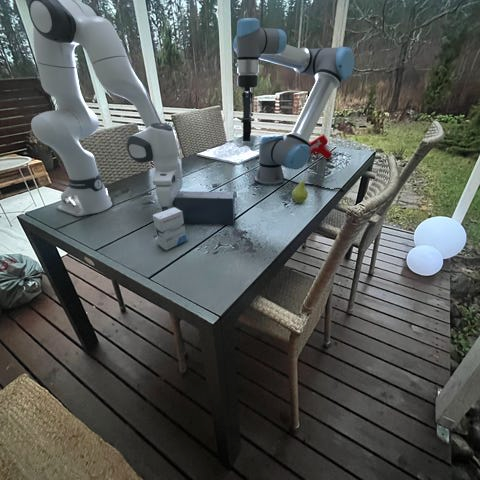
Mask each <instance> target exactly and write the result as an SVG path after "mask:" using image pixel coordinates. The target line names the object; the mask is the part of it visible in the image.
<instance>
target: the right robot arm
mask: <svg viewBox="0 0 480 480" xmlns="http://www.w3.org/2000/svg"><path fill="white" fill-rule="evenodd" d="M260 23H261V21H260V19H259V18H255V17H244V18H240V19H238V20H237V24H236V35H235V36H234V39H233V51H234V52H235V54H236V63H235V65H234V66H235V67H237V68H236V70H237V71H236V73H237V74H238V75H237V76H236V80H237V82H236V84H237V85H236V86H237V87H238V88H243V91H242V93H241V99H242V106H243V107H242V119H241V120H240V122H241V124H242V141H243V142H251V134H252V117H253V116H254V112H252V106H253V99H254V92H252V88H258V87H259V75H258V74H259V70H260V66H259V65H260V61H259V60H261V61H264V62H265V61H266V62H268V63H272V64H277V65H280V66H284V67H286V68H289V69H293V70H294V71H295V72H296V73H298V74H302V75H305V76H308V77H311V78H314V79H315V83H314V85H313V86H312V89H311V91H310V93H309V96H308V97H307V99H306V102H305V103H304V106H303V107H302V110H301V112H300V114H299V116H298V118H297V121H296V122H295V125H294V127H293V129H292V131H291V132H288V133H287V134H286V136H284V134H282V133H281V134H280V133H276V134H275V133H274V134H266V135H262V136H260V139H259V149H258V150H259V151H258V152H259V156H258V167H257V171H256V172H255V177H254V181H255V183H258V184H259V185H262V186H263V185H264V186H279V185H281V184H283V183H284V181H286V182H289V183H292V184H295V185H298V184H299V183H300V182H298V181H294V180H291V179H288V178H285V175H284V172H283V171H284V170H283V167H285V168H287V169H290V170H295V171H296V170H299V169H302V168H304V167H305V166H306V165H307V163H308V162H309V159H310V157H311V154H310V148H309V146H310V142H311V141H310V139H311V137H312V134H313V132H314V130H315V129H316V126H317V124H318V122H319V120H320V118H321V115H322V114H323V112H324V110H325V108H326V106H327V104H328V102H329V100H330V98H331V95H332V94H333V91H334V90H335V89H337V88H339V87H340V85H341V83H342V81H343V80H344V81H345V80H347V79H349V78H350V77H351V76H352V74H353V70H354V66H355V55H354V52H353V50H352V49H351V48H350V47H349V46H341V45H340V46H337V47H319V48H307V47H300V48H299V47H295V46H292V45H289V44H287V42H288V41H287V39H288V36H287V33H286V31H284V30H283V29H279V28H270V27H269V28H268V27H267V28H266V27H261V25H260ZM314 184H316V183H308V182H307V183H306V182H305V186H313V187H317V188H320V189H324V190H327V191H336V190H337V191H341V192H345V190H344V189H343V188H342V187H333V188H334V189H330V188H331V187H327V188H325V187H326V186H324V187H322V186H323V185H321V186H319V185H320V184H316V185H314Z"/></svg>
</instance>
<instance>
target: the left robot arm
mask: <svg viewBox="0 0 480 480" xmlns="http://www.w3.org/2000/svg"><path fill="white" fill-rule="evenodd" d="M28 14H29V18H30V21H31V23H32V25H33V28H32V29H33V30H32V32H33V35H32V36H33V37H32V39H33V49H34V54H35V55H34V56H35V61H36V65H37V70H38V75H39V78H40V80H39V81H40V84H41V88H42V89H43V91H44V92H46V93H47V94H48V95H49V96H51V97H53V98H54V100H55V101H56V104H57V106H58V109H53V110H48V111H47V110H46V111H44V112H41V113H39V114H38V115H35V116H34V117H33V118H32V119H31V122H30V126H31V131H32V133H33V135H34V137H35V138H36V139H37V140H38V141H39V142H40V143H42V144H44V145H45V146H48V147H50V148H51V149H52V150H53V151H55V152H56V154H57V155H58V156H59V158H60V159H61V161H62V163H63V165H64V168H65V171H66V173H67V175H68V177H67V178H65V179H64V180H65V182H68V185H67V188H66V189H65V190H64V191H63V192H61V194H60V200H61V203H60V204H59V205H57V210H58V211H61V212H63V213H67V214H69V215H73V216H74V217H75V216H76V217H83V216H87V215H93V214H94V215H95V214H97V213H98V214H99V213H101V212H104V211H106V210H108V209H110V208H112V206H113V202H112V198H111V197H110V196H109V193H108V188H106V186H105V184H104V183H103V177H102V175H101V173H100V171H99V169H98V165H97V162H96V158H95V155H94V154H93V153H91V152H90V151H89V150H86V149H84V148H83V146H82V145H81V143H80V141H79V140H82V139H85V138H89V137H90V136H92V135H93V134H95V133H96V132H97V131H98V130H99V127H100V123H99V118H98V116H97V114H96V113H95V112H94V111H93V110H92V109H91V108H89V107H88V105H87V104H86V102H85V100H84V97H83V95H82V92H81V88H80V83H79V77H78V76H79V75H78V70H77V63H76V58H75V49H76V47H78V46H81V47H82V48H83V49H84V50H85V53H86V54H87V57H88V59H89V62H90V64H91V67H92V69H93V72H94V74H95V77H96V79H97V80H98V82H99V83H100V85H101V86H102V87H103V89H105V90H106V91H108V92H109V93H111V94H113V95H115V96H118V97H120V98H123V99H125V100H127V101H128V102H130V103H131V104H132V105H133V106H134V107H135V109H136V112H137V113H138V115H139V117H140V118H141V121H142V123H143V126H144V127H145V129H144V130H142V131H140V132H137V133H135V134H132V135H130V136H128V138H127V140H126V145H125V147H126V151H127V153H128V155H129V157H130V158H131V159H132V160H133V161H135V162H137V163H143V164H144V163H150V162H152V163H153V164H154V165H153V166H154V174H153V178H152V185H153V186H155V193H156V199H157V202H158V205H159V206H160V207H168V209H171V208H174V206H173V205H172V204H173V201H174V199H175V196H176V195H177V193H178V192H179V191H181V190H182V188H183V186H184V185H183V178H182V176H183V175H182V167H181V161H180V159H179V143H178V138H177V135H176V131H175V129H174V127H173V126H172V125H170V124H168V123H164V122H162V120H161V119H160V118H161V117H160V116H159V113H158V111H157V110H156V107H155V105H154V103H153V101H152V99H151V97H150V94H149V92H148V90H147V88H146V87H145V86H144V84H143V82H142V81H141V80H140V79H139V78H138V76H137V74H136V73H135V71H134V68H133V66H132V64H131V62H130V59H129V56H128V54H127V52H126V49H125V47H124V45H123V42H122V40H121V38H120V36H119V34H118V32H117V30H116V29H115V26H114V25H113V24H112V23H111V21H110V20H109V19H108V18H106V17H103V14H102V13H101V12H100V11H99V10H98V9H97V8H96V7H95V6H93V5H91V4H90V3H87V2H82V1H80V0H29V1H28Z"/></svg>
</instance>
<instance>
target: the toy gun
mask: <svg viewBox="0 0 480 480" xmlns="http://www.w3.org/2000/svg"><path fill="white" fill-rule="evenodd" d="M309 142H310V146H309V148H310V155H313V156H318V155H319V154H320V155H322V157H324V158H325V161H327V160H328V159H326V158H329V157H330V159H331V158H332V155H333V153H332V151H331V150H329V149H328V148H327V147H326V145H328V142H329V139H328V138H327V137H326V136H325V134H324V133H323V134H321V135H320V136H318V137H316V138H314V139H313V140H311V141H309Z"/></svg>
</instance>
